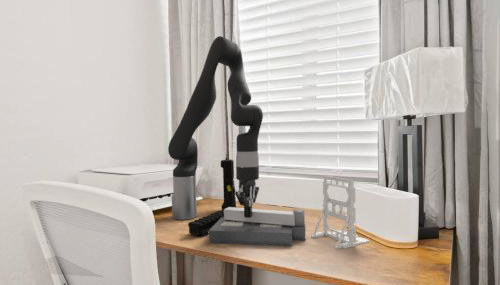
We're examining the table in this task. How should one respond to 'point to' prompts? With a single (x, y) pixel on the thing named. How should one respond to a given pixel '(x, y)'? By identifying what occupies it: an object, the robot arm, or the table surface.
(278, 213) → the bar
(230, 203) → the portable radio
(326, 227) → the film strip holder
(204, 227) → the rail mount
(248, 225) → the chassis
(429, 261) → the table surface
